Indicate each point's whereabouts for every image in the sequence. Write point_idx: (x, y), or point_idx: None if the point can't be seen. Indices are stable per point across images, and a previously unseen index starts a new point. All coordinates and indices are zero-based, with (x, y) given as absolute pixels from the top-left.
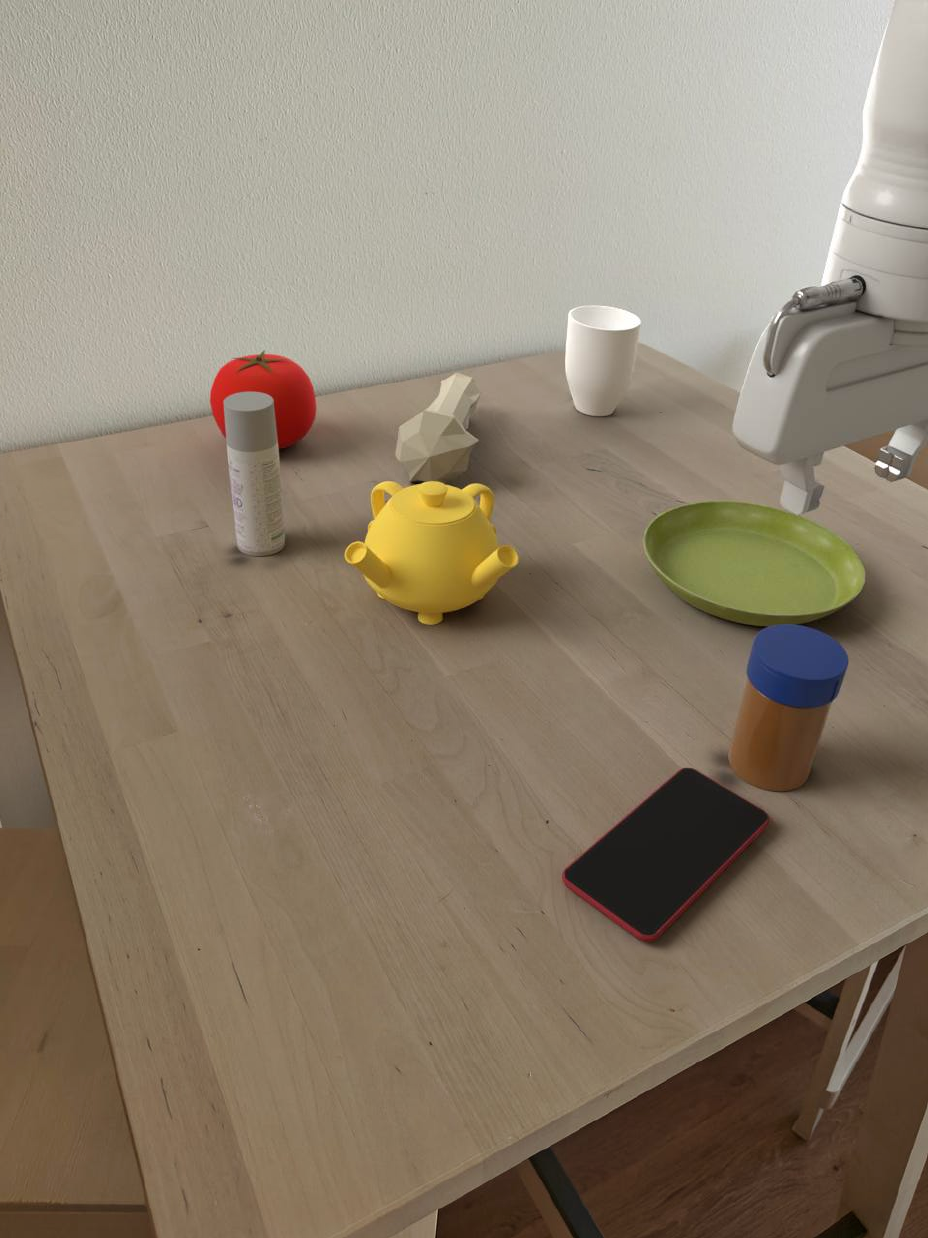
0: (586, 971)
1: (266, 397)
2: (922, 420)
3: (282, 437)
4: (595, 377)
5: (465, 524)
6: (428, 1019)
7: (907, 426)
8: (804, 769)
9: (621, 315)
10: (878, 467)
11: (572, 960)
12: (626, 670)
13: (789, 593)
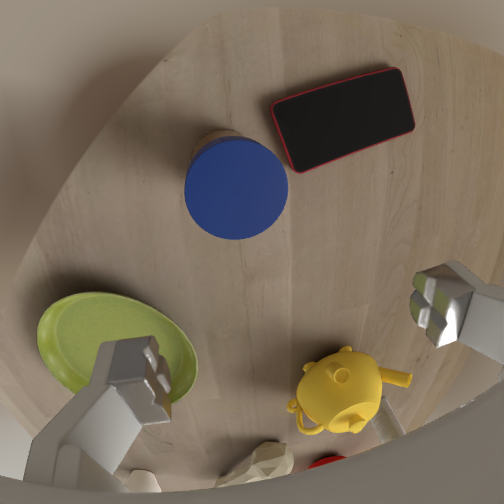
0: (423, 76)
1: None
2: (155, 496)
3: (331, 461)
4: (150, 490)
5: (349, 402)
6: (477, 99)
7: (104, 461)
8: (218, 131)
9: None
10: (167, 379)
11: (426, 85)
12: (262, 284)
13: (94, 325)
